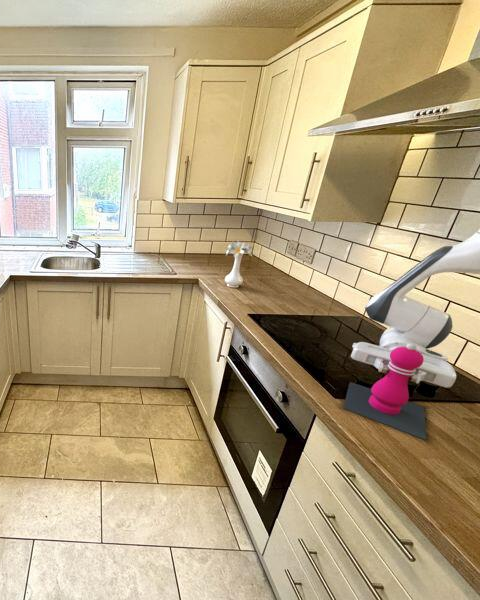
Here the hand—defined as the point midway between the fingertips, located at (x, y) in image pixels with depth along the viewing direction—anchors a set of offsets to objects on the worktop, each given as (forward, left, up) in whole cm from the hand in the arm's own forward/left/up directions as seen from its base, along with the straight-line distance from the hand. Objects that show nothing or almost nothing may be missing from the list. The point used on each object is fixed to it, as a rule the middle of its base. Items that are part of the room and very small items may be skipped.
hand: (399, 375), depth 82 cm
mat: (0, -1, -11) cm, 11 cm away
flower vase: (+84, -55, -11) cm, 101 cm away
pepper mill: (0, -1, -11) cm, 11 cm away
